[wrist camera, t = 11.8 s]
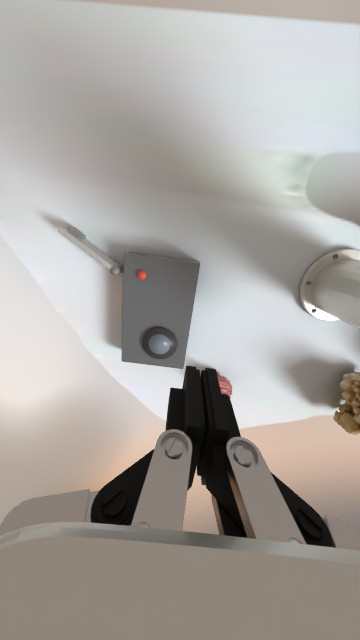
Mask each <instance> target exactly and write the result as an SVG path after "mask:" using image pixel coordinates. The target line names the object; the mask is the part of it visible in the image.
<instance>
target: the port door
mask: <svg viewBox="0 0 360 640" xmlns="http://www.w3.org/2000/svg"><path fill="white" fill-rule="evenodd" d="M58 232H60V233H61V234H62V235H64V236H65V237H66V238H68V239H69V240H70V241H72V242H73V243H74V244H76V245H77V246H78V247H80V248H81V249H82V250H84V251H85V252H86V253H88V254H89V255H90V256H92V257H93V258H94V259H96V260H97V261H98V262H100V263H101V264H102V265H104V266H105V267H106V268H108V269H109V270H110V271H111V273H112V274H113V275H117V274H119V273H121V272H123V271H124V266H123V265H119V264H118V263H117V262H116V261H114V260H113V259H112V258H110V257H109V256H108V255H106V254H105V253H104V252H103V251H101V250H100V249H99V248H97V247H96V246H95V245H93V244H92V243H91V242H89V241H88V240H87V239H86V238H85V237H86V236H85V235H84V234H83V233H82V232H80V231H79V230H78V229H76V228H74V227H68V228H66V227H60V228H59V230H58Z"/></svg>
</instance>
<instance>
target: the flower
mask: <svg viewBox="0 0 360 640" xmlns="http://www.w3.org/2000/svg"><path fill="white" fill-rule="evenodd" d="M217 377H218V381H219V385H220V389H221V394H227V395H229V397H230V395H231V394H232V390H231V389H232V387H231V386H232V385H231V384H230V382H229V381H228V380H227V379H226V378H225V377H223V376H218V375H217ZM230 398H231V397H230Z"/></svg>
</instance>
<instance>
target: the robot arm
mask: <svg viewBox="0 0 360 640" xmlns="http://www.w3.org/2000/svg"><path fill="white" fill-rule="evenodd" d="M306 282H307V283H306ZM299 296H300V301H301V304H302V306H303V308H304V309H305V310H306V311H307V312H308V313H309V314H311V315H312V316H314V317H316V318H318V319H321V320H328V321H329V320H338V319H340V320H342V321H344V322H346V323H348V324H350V325H352V326H354V327H356V328H358V329H360V250H356V249H340V250H336V251H332V252H330V253H328V254H325V255H324V256H322V257H321V258H319V259H318V260H317V261H315V262H314V263H313V264H312V265H311V266H310V268H309V269H308V270H307V272H306V273H305V275H304V277H303V279H302V282H301V285H300V295H299ZM196 466H197V475H198V476H201V480H202V485H206V488H207V489H208V490H209V491H210V493H211V494H212V503H213V508H214V512H215V516H216V521H217V526H218V530H219V535H215V534H205V533H195V532H186V531H182V529H183V520H184V513H185V505H186V496H187V491H188V490H189V488H190V487H191V486H192V482H193V478H194V474H195V470H196ZM0 640H360V528H358V527H356V526H353V525H350V524H348V523H345V522H342V521H340V520H337V519H334V518H332V517H328V516H325V517H324V518H323V517H321V516H320V515H319V514H318V513H317V512H316V511H315V510H314V509H313V508H312V507H311V506H309V505H308V504H307V503H306V502H305V501H304V500H302V499H301V498H300V497H299V496H298V495H297V494H295V493H294V492H293V491H292V490H291V489H290V488H289V487H287V486H286V485H285V484H284V483H283V482H282V481H280V480H279V479H278V478H277V477H276V476H275V475H273V474H272V473H271V472H270V470H269V468H268V466H267V465H266V463H265V460H264V459H263V456H262V455H261V452H260V451H259V449H258V448H257V447H256V446H255V445H254V444H253V443H252V442H250V441H249V440H248V439H245V438H242V437H241V436H240V432H239V429H238V425H237V422H236V418H235V415H234V411H233V408H232V404H231V401H230V397H229V395H227V394H221V389H220V385H219V381H218V377H217V373H216V370H215V369H209V368H206V369H205V371H204V370H202V371H201V376H200V371H199V370H196V367H193V366H186V370H185V376H184V382H183V388H182V389H178V388H171V389H170V396H169V404H168V412H167V421H166V431H165V432H163V433H162V434H161V435H160V436H159V438H158V440H157V443H156V447H155V449H153V450H152V451H151V452H149V453H148V454H147V455H145V456H144V457H143V458H141V459H140V460H139V461H137V462H136V463H135V464H133V465H132V466H131V467H129V468H128V469H127V470H125V471H124V472H123V473H121V474H120V475H118V476H117V477H116V478H114V479H113V480H112V481H110V482H109V483H108V484H106V485H105V486H104V487H103V488H102V489H101V490H100V491H94V492H89V489H88V490H82V491H75V492H69V493H63V494H57V495H51V496H44V497H38V498H32V499H29V500H26V501H23V502H22V503H20V504H19V505H17V506H16V507H14V508H13V509H12V510H11V511H10V512H9V513H8V515H7V516H6V517H5V518H4V520H3V522H2V523H1V525H0Z"/></svg>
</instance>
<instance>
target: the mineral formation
mask: <svg viewBox="0 0 360 640" xmlns="http://www.w3.org/2000/svg"><path fill="white" fill-rule="evenodd" d="M342 379H343V380H342V381H341V382H340V384H339V385H340V387H341V389H343V392H342V397H343V399H345V400H346V402H345V404H341V405H340V406H339V411H340V412H339V413H338V411H336V412H335V416H334V420H335V421H336V422H337V423H338V424H339V425H341V426H342V427H343V428H344V429H345V430H346V431H347V432H348V433H350V434H359V433H360V372H352V373H349V374H344V375H343V377H342ZM341 412H342V413H341Z"/></svg>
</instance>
